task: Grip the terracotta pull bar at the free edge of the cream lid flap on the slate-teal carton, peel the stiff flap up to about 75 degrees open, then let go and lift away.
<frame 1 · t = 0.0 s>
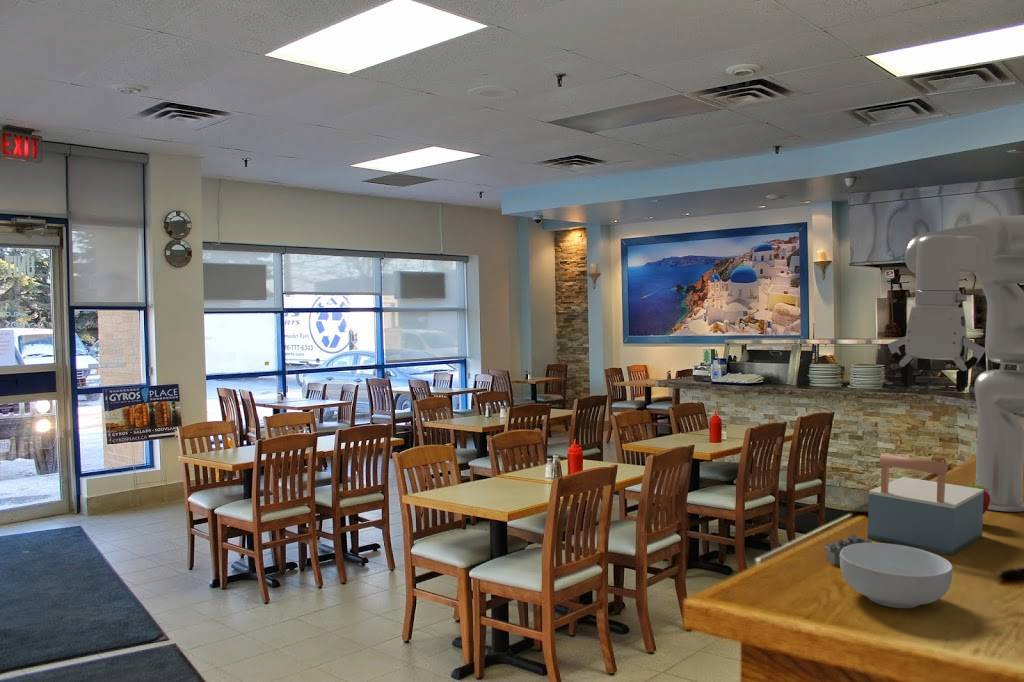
hand: (933, 388, 166), 31 cm above the worktop, tool pointing down, fingers open, 9 cm apart
carton: (924, 536, 175), on the worktop
flap: (927, 472, 174), point 13 cm above the worktop, hinge at 0.0°
cereal bowl: (893, 601, 140), on the worktop
egg carton: (854, 563, 160), on the worktop
strawberry: (973, 524, 185), on the worktop
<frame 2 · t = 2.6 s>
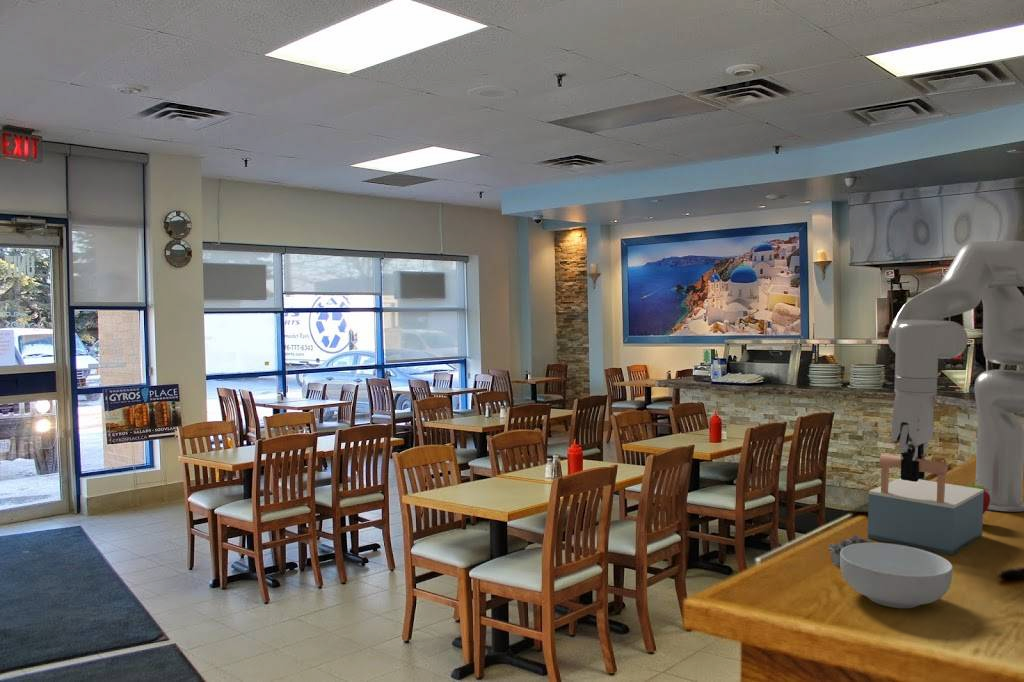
hand: (912, 478, 168), 13 cm above the worktop, tool pointing down, fingers closed on flap, 2 cm apart
flap: (927, 472, 174), point 13 cm above the worktop, hinge at 0.0°, touching gripper
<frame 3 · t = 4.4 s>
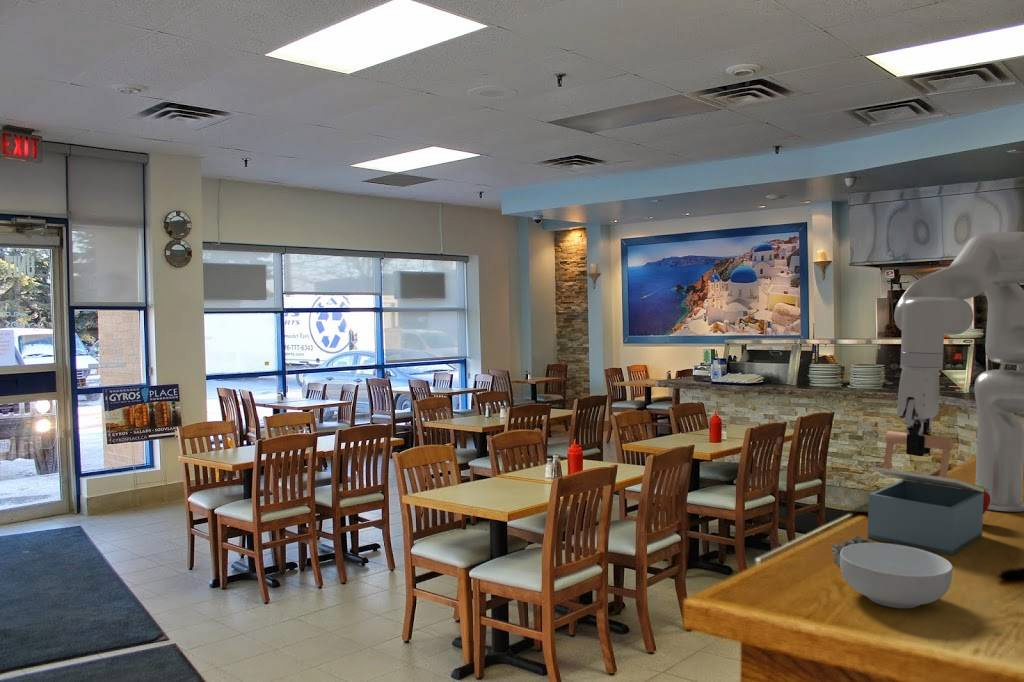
hand: (918, 453, 170), 18 cm above the worktop, tool pointing down, fingers closed on flap, 2 cm apart
flap: (930, 460, 175), point 16 cm above the worktop, hinge at 15.8°, touching gripper
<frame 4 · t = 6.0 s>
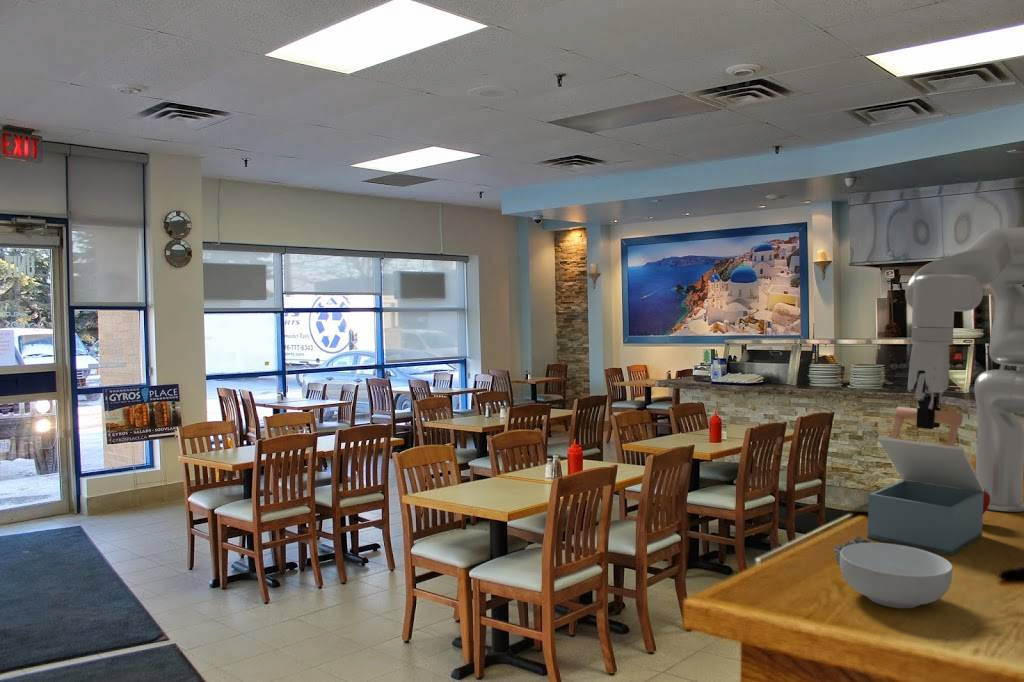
hand: (928, 426, 173), 23 cm above the worktop, tool pointing down, fingers closed on flap, 2 cm apart
flap: (935, 447, 177), point 18 cm above the worktop, hinge at 36.6°, touching gripper
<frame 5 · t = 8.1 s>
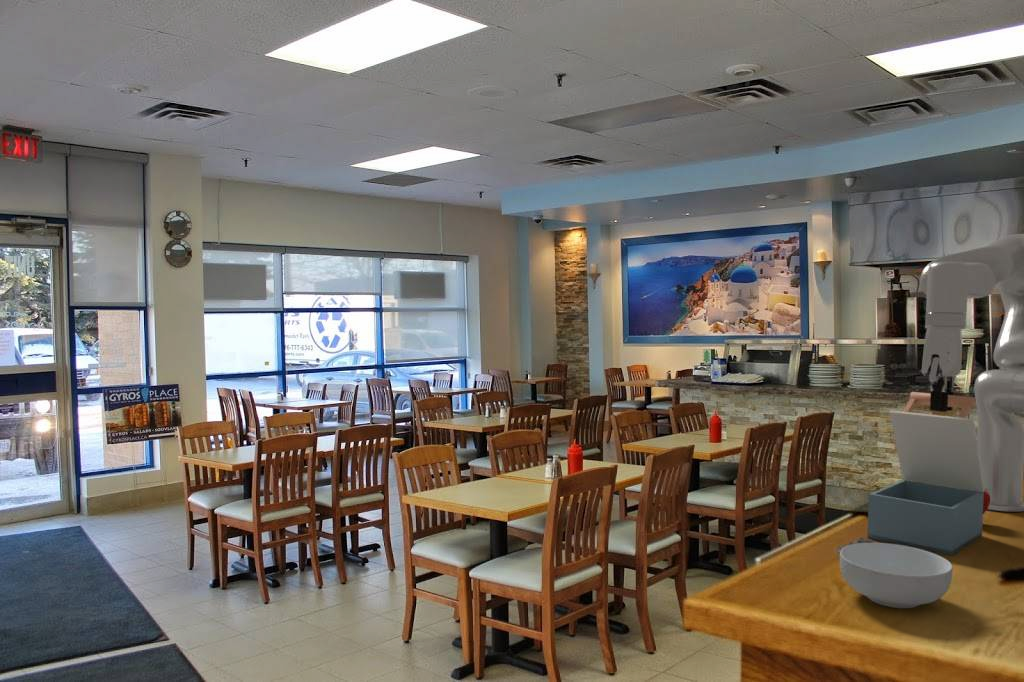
hand: (941, 409, 178), 25 cm above the worktop, tool pointing down, fingers closed on flap, 2 cm apart
flap: (942, 439, 180), point 19 cm above the worktop, hinge at 60.9°, touching gripper
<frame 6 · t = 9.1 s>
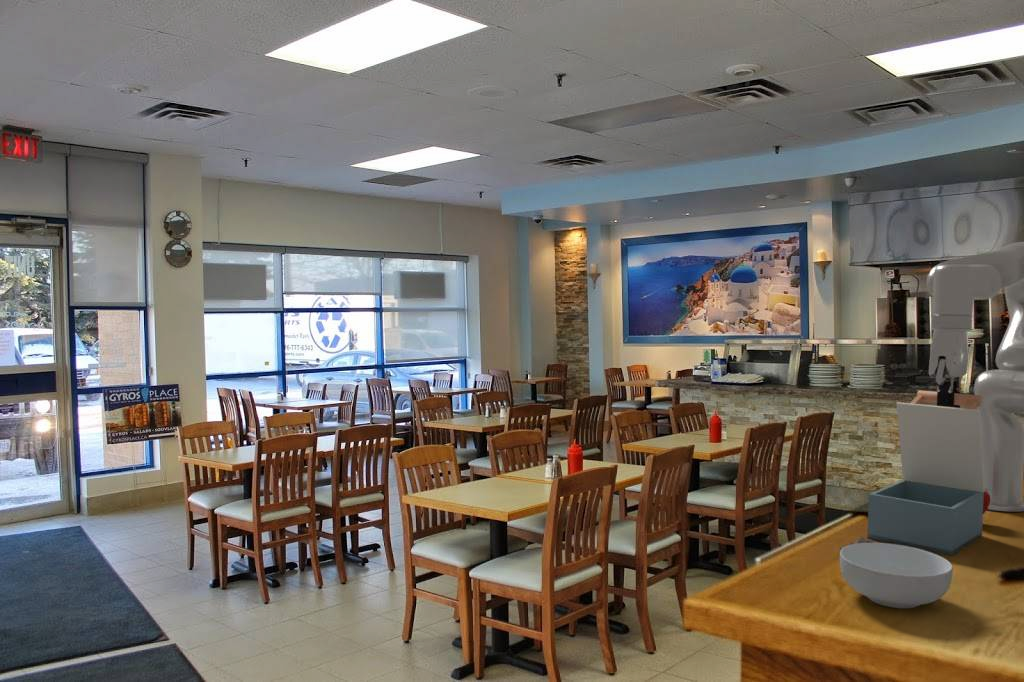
hand: (948, 409, 181), 25 cm above the worktop, tool pointing down, fingers open, 3 cm apart
flap: (946, 438, 181), point 19 cm above the worktop, hinge at 73.3°
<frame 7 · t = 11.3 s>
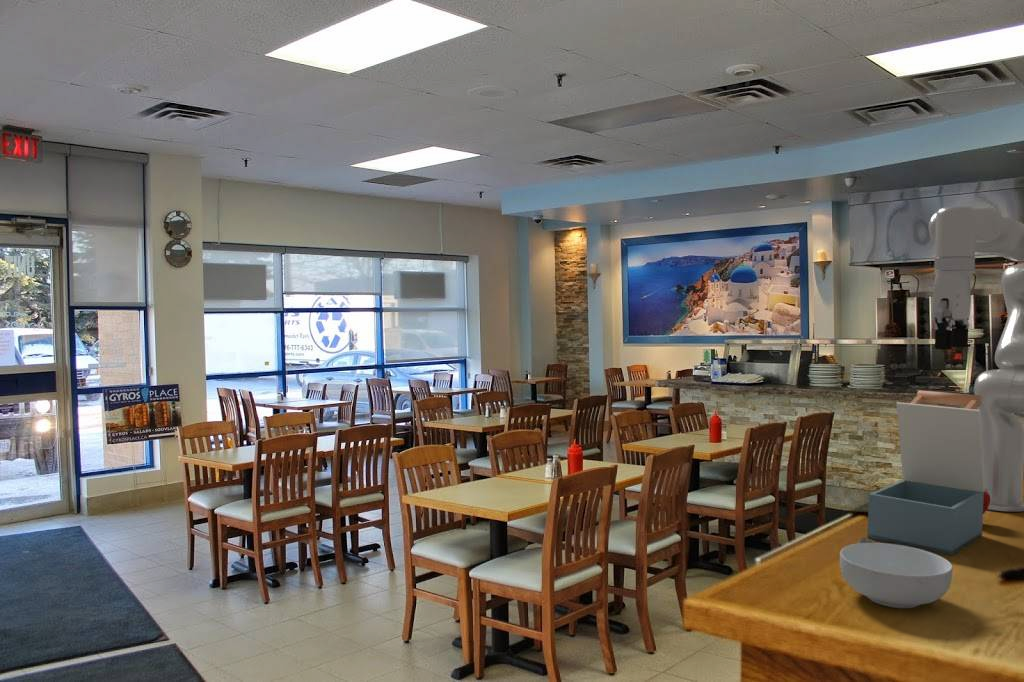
hand: (951, 348, 181), 38 cm above the worktop, tool pointing down, fingers open, 9 cm apart
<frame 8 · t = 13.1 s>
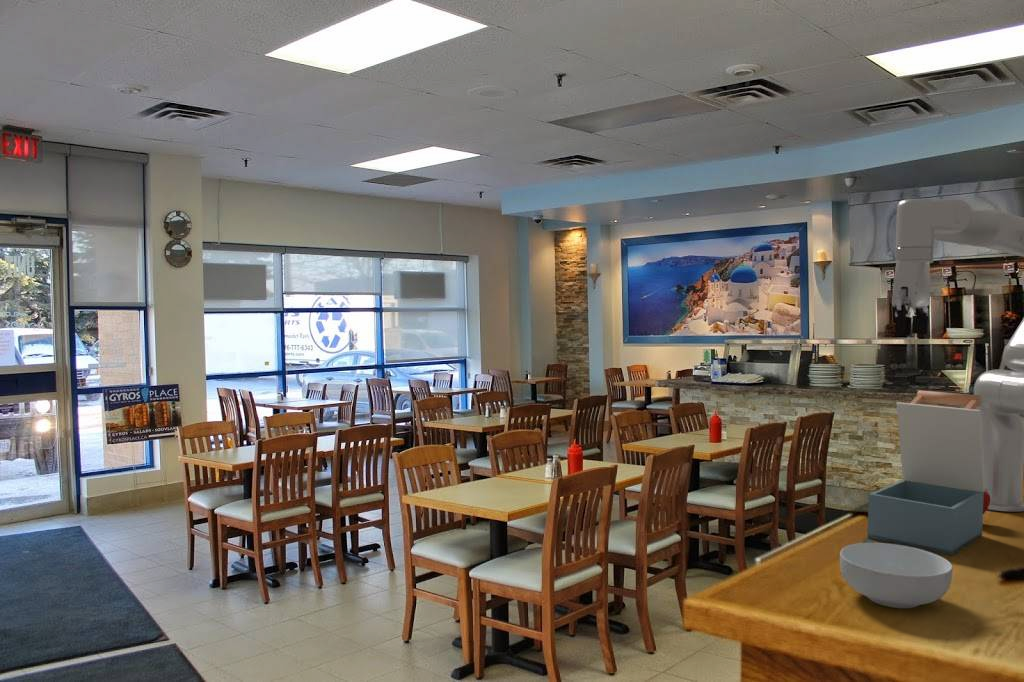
hand: (911, 334, 189), 40 cm above the worktop, tool pointing down, fingers open, 9 cm apart
at the end: flap at +73° (first picture: +0°); the gripper is holding nothing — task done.
